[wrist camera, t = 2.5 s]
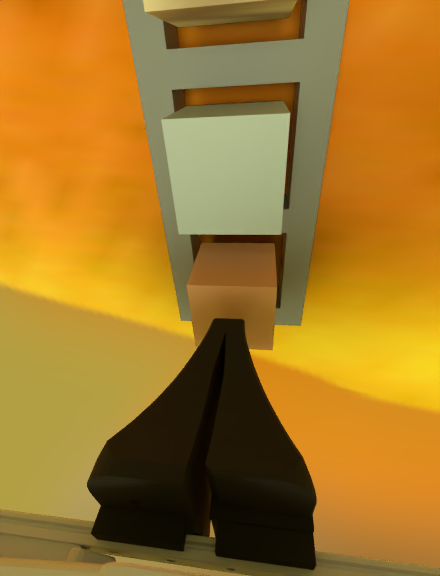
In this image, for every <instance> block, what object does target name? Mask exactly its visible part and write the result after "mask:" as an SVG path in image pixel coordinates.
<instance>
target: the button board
mask: <svg viewBox="0 0 440 576" xmlns="http://www.w3.org/2000/svg"><path fill="white" fill-rule="evenodd" d="M123 5H124V10H125V16H126V21H127V27H128V32H129V38H130V43H131V49H132V54H133V60H134V65H135V71H136V76H137V82H138V87H139V93H140V98H141V104H142V109H143V115H144V120H145V126H146V131H147V136H148V142H149V147H150V153H151V158H152V164H153V169H154V175H155V180H156V186H157V191H158V197H159V202H160V208H161V213H162V219H163V224H164V230H165V235H166V241H167V246H168V252H169V257H170V262H171V268H172V273H173V279H174V284H175V290H176V295H177V301H178V306H179V312H180V317H181V321H192V318H191V311H190V305H189V298H188V292H187V282H188V279H189V277H190V274H191V271H192V268H193V265H194V263H195V260H196V257H197V254H198V251H199V249H200V238H199V234H179V233H178V226H177V220H176V213H175V207H174V200H173V193H172V187H171V180H170V174H169V167H168V161H167V154H166V148H165V141H164V135H163V128H162V121H161V119H163V118H165V117H167V116H169V115H171V114H173V113H175V112H177V111H179V110H180V109H182V108H184V107H185V99H184V89H192V88H208V87H224V86H241V85H257V84H273V83H290V82H295V93H294V105H293V118H292V130H291V143H290V156H289V168H288V181H287V193H286V194H284V203H283V217H282V230H281V233H283V243H282V256H281V268H280V281H279V288H277V297H276V310H275V323H274V325H297V326H301V321H302V314H303V307H304V301H305V294H306V287H307V280H308V274H309V267H310V260H311V254H312V247H313V240H314V234H315V227H316V220H317V213H318V207H319V200H320V193H321V187H322V180H323V173H324V166H325V160H326V153H327V146H328V140H329V133H330V126H331V119H332V113H333V106H334V99H335V93H336V86H337V79H338V72H339V66H340V59H341V52H342V46H343V39H344V32H345V26H346V19H347V12H348V5H349V0H302V5H301V18H300V30H299V39H292V40H279V41H267V42H254V43H242V44H229V45H217V46H204V47H192V48H179V43H178V34H177V26H175V25H172V24H170V23H168V22H166V21H163V20H161V19H159V18H157V17H155V16H152V15H150V14H148V13H146V12H145V10H144V4H143V0H123Z"/></svg>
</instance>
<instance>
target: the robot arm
mask: <svg viewBox="0 0 440 576" xmlns="http://www.w3.org/2000/svg"><path fill="white" fill-rule="evenodd" d="M87 487H88V489H89V491H90V493H91V494H92V495H93V497H94V498H95V499H96V500H97V501H98V503H99V504H100V505H101V507H100V510H99V512H98V515H97V518H96V520H95V522H92V521H84V520H77V519H69V518H62V517H54V516H46V515H39V514H32V513H24V512H17V511H9V510H2V509H0V576H208V575H203V574H197V573H190V572H184V571H177V570H170V569H164V568H157V567H151V566H144V565H137V564H131V563H123V562H116V560H115V558H114V557H111V556H108V555H104V554H109V555H115V556H122V557H129V558H136V559H142V560H149V561H156V562H162V563H169V564H176V565H183V566H190V567H197V568H204V569H210V570H217V571H223V572H230V573H237V574H244V575H250V576H440V568H438V567H431V566H423V565H415V564H408V563H401V562H393V561H386V560H378V559H370V558H362V557H356V556H355V557H354V556H348V555H340V554H333V553H325V552H318V551H315V547H314V538H313V532H314V524H313V512H314V509H315V506H316V493H315V489H314V485H313V482H312V479H311V476H310V474H309V471H308V469H307V466H306V464H305V461H304V459H303V457H302V455H301V454H300V452H299V451H298V449H297V448H296V446H295V445H294V444H293V442H292V440H291V439H290V437H289V435H288V434H287V432H286V431H285V429H284V427H283V426H282V424H281V422H280V421H279V419H278V417H277V415H276V413H275V411H274V410H273V408H272V406H271V404H270V402H269V400H268V398H267V396H266V394H265V392H264V390H263V387H262V385H261V383H260V380H259V378H258V375H257V373H256V370H255V367H254V364H253V361H252V358H251V355H250V352H249V348H248V344H247V340H246V334H245V321H244V320H243V319H228V318H215V319H213V321H212V323H211V325H210V327H209V329H208V331H207V333H206V335H205V336H204V338H203V340H202V342H201V343H200V345H199V346H198V348H197V350H196V351H195V353H194V354H193V356H192V357H191V358H190V360H189V361H188V363H187V364H186V365H185V367H184V368H183V369H182V371H181V372H180V373H179V374H178V376H177V377H176V378H175V379H174V380H173V382H172V383H171V384H170V385H169V386H168V387H167V388H166V389H165V390H164V391H163V393H162V394H161V395H160V396H159V397H158V398H157V399H156V400H155V401H154V402H153V403H152V404H151V405H150V406H149V407H147V408H146V409H145V410H144V411H143V412H142V413H141V414H140V415H139V416H138V417H136V418H135V419H134V420H133V421H132V422H131V423H129V424H128V425H127V426H126V427H125V428H123V429H122V430H121V431H119V432H118V433H117V434H116V435H114V436H113V437H112V438H111V439H109V440H108V441H107V442H106V444H105V446H104V448H103V449H102V451H101V453H100V455H99V457H98V458H97V461H96V463H95V465H94V468H93V470H92V472H91V475H90V477H89V480H88V482H87ZM211 521H212V525H213V528H214V533H215V538H212V537H209V536H210V522H211ZM101 553H102V554H101Z"/></svg>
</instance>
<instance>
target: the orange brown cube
mask: <svg viewBox="0 0 440 576" xmlns="http://www.w3.org/2000/svg"><path fill="white" fill-rule="evenodd" d="M187 292H188V298H189V305H190V311H191V318H192V324H193V331H194V338H195V344H196V346H199V345H200V343H201V342H202V340H203V338H204V336H205V335H206V333H207V331H208V329H209V327H210V325H211V323H212V321H213V319H215V318H228V319H243V320H244V321H245V334H246V340H247V344H248V348H249V349H259V350H273V336H274V323H275V310H276V297H277V276H276V258H275V243H201V246H200V249H199V251H198V254H197V257H196V260H195V263H194V265H193V268H192V271H191V274H190V277H189V279H188V282H187Z"/></svg>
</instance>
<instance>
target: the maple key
mask: <svg viewBox="0 0 440 576" xmlns="http://www.w3.org/2000/svg"><path fill="white" fill-rule="evenodd" d="M296 2H297V0H143V4H144V10H145V12H146V13H148V14H150V15H152V16H155V17H157V18H159V19H161V20H163V21H166V22H168V23H170V24H172V25H175V26H177V27H179V28H181V27H192V26H204V25H215V24H226V23H237V22H248V21H260V20H271V19H282V18H289V16H290V14H291V12H292V10H293V8H294V6H295V4H296Z"/></svg>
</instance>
